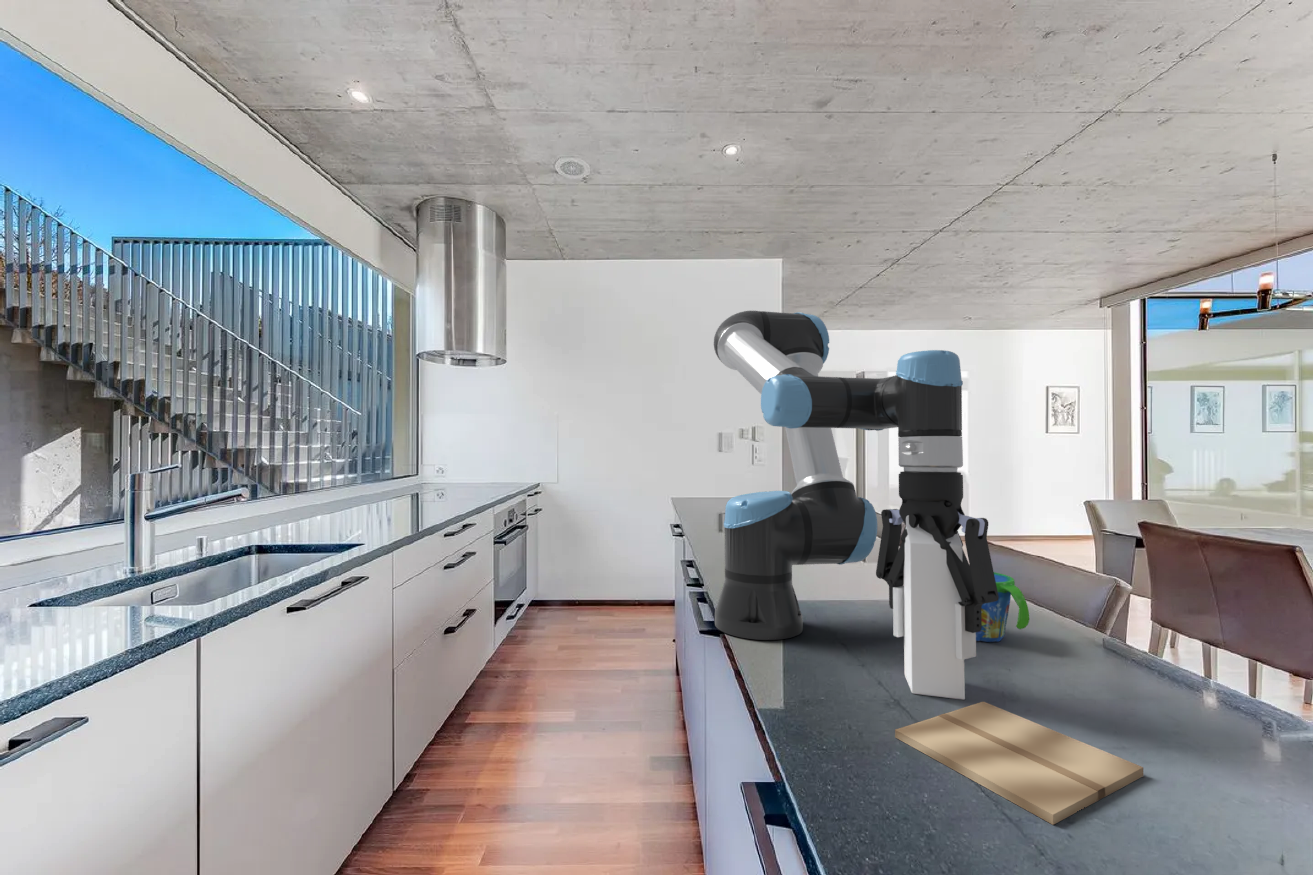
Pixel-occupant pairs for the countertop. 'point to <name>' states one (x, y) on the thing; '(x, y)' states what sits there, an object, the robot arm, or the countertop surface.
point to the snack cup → (1002, 610)
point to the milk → (930, 617)
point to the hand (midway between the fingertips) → (932, 645)
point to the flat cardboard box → (1021, 759)
